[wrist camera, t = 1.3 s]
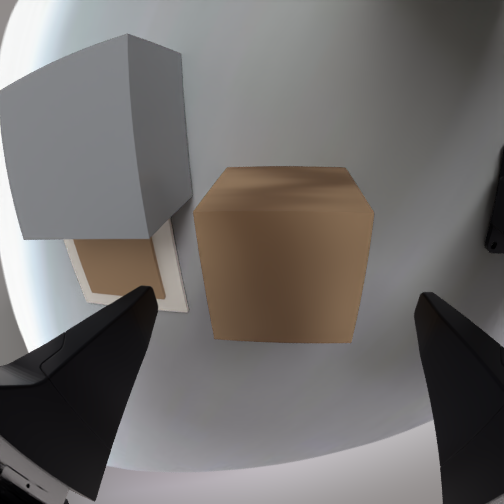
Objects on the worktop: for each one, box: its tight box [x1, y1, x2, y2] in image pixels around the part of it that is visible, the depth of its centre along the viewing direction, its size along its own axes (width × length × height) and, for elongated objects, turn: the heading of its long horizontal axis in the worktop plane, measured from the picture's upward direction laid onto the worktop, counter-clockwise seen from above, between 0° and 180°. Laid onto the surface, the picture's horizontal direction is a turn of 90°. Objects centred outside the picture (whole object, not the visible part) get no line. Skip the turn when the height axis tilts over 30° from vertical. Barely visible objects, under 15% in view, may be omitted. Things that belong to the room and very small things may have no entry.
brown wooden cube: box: [193, 166, 374, 343], centre depth 13 cm, size 6×6×6 cm
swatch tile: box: [64, 218, 189, 313], centre depth 17 cm, size 8×8×1 cm
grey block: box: [0, 34, 192, 240], centre depth 11 cm, size 7×7×5 cm
